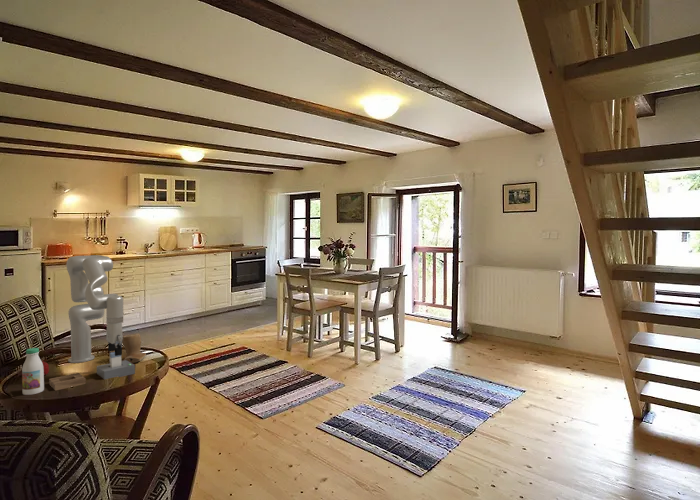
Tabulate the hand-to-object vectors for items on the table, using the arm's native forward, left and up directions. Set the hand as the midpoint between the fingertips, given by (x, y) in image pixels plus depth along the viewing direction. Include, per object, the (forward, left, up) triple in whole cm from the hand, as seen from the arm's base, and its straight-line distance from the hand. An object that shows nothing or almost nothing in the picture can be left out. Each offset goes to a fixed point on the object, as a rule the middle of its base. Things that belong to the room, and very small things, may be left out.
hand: (115, 353), depth 210 cm
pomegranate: (-25, -28, -11) cm, 39 cm away
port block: (+1, 0, -11) cm, 11 cm away
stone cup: (-18, +15, -11) cm, 26 cm away
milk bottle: (+1, -34, -11) cm, 36 cm away
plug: (+1, 0, -10) cm, 10 cm away
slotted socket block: (+1, -21, -11) cm, 24 cm away
